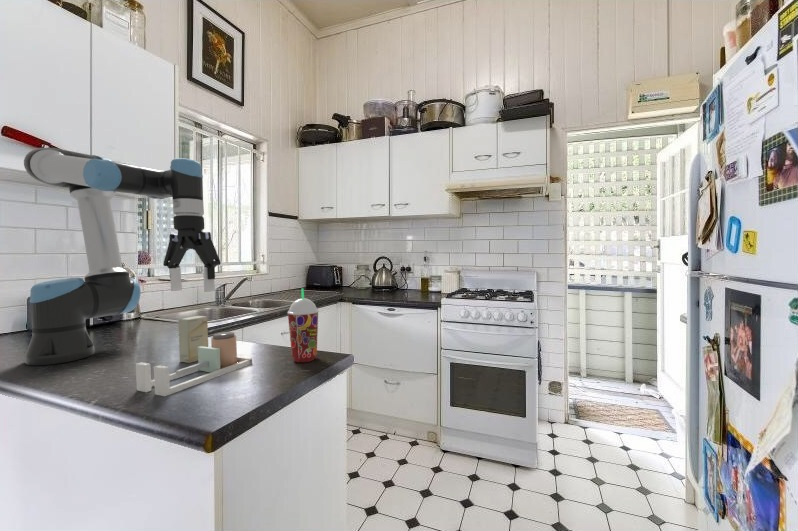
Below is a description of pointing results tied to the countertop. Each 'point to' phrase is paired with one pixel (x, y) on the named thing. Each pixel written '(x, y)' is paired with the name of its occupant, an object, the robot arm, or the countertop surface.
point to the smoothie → (303, 329)
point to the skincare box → (192, 337)
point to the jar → (225, 348)
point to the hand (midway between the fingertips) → (192, 291)
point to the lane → (164, 377)
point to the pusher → (204, 361)
